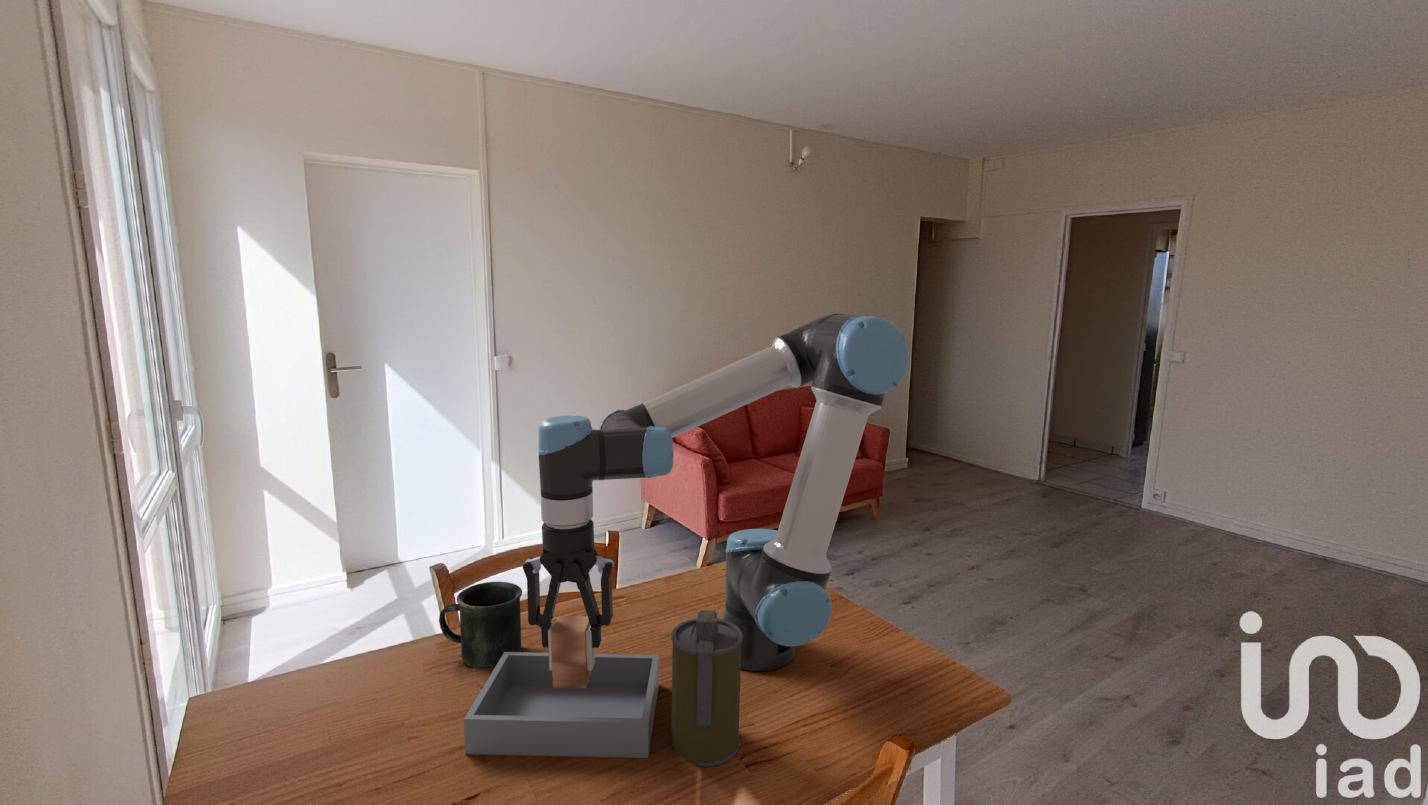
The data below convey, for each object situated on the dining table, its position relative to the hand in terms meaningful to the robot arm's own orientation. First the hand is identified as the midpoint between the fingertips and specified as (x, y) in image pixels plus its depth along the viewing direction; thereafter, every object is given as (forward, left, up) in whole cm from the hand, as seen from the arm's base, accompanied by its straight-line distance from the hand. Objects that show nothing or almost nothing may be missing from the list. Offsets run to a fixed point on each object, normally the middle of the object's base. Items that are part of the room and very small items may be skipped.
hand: (572, 665), depth 102 cm
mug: (+20, -18, -9) cm, 29 cm away
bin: (0, 0, -9) cm, 9 cm away
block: (0, 0, -2) cm, 2 cm away
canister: (-21, +5, -9) cm, 23 cm away
